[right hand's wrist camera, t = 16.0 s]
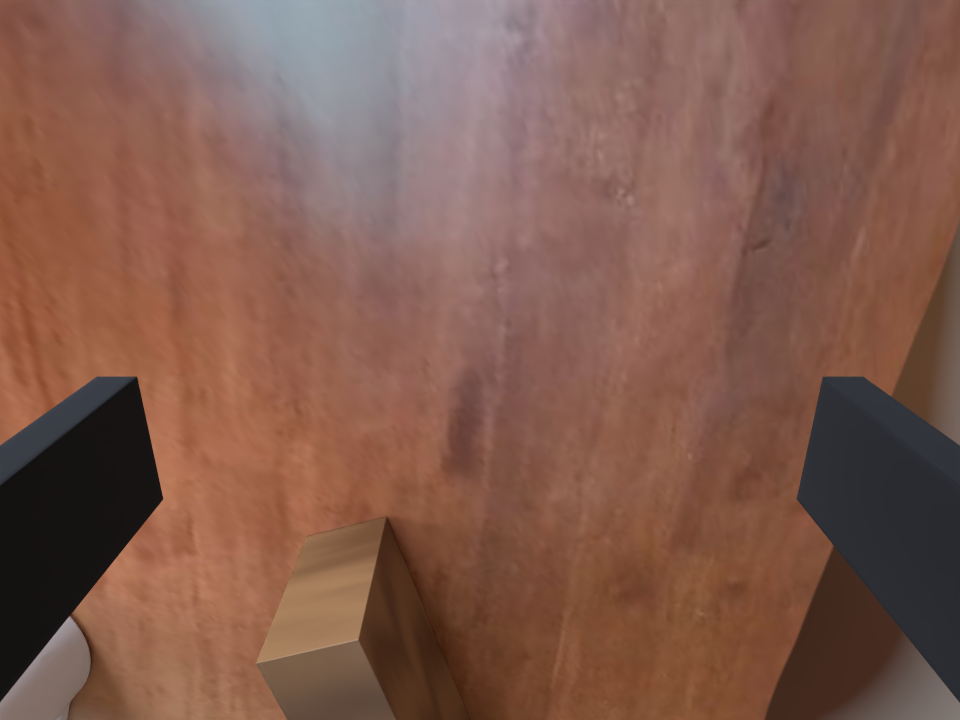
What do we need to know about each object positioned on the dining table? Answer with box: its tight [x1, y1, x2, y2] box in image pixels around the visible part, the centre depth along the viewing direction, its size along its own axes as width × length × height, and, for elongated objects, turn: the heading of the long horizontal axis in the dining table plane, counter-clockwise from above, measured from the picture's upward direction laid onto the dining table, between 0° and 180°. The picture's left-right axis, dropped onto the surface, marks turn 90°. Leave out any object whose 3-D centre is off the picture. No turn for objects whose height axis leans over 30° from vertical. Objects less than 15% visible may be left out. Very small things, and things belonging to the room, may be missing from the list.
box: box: [256, 517, 470, 720], centre depth 47 cm, size 25×6×12 cm, turn 16°
